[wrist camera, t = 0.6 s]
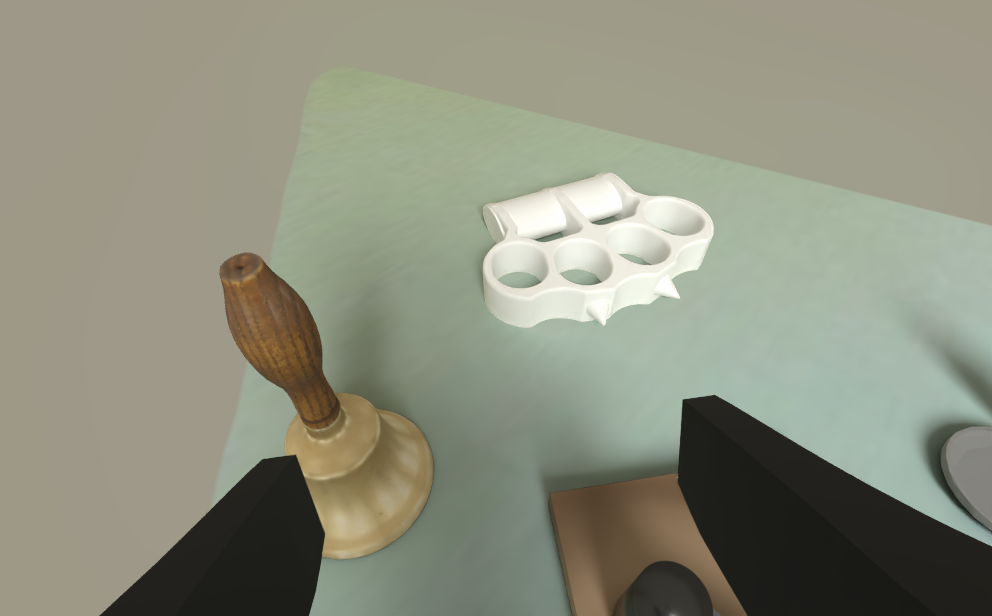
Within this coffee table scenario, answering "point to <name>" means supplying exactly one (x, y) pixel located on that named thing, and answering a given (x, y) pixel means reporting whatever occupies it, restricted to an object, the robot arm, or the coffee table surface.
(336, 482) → the hand bell
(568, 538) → the press base
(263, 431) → the coffee table surface
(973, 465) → the pocket watch
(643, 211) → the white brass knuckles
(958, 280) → the coffee table surface
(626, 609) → the lever
